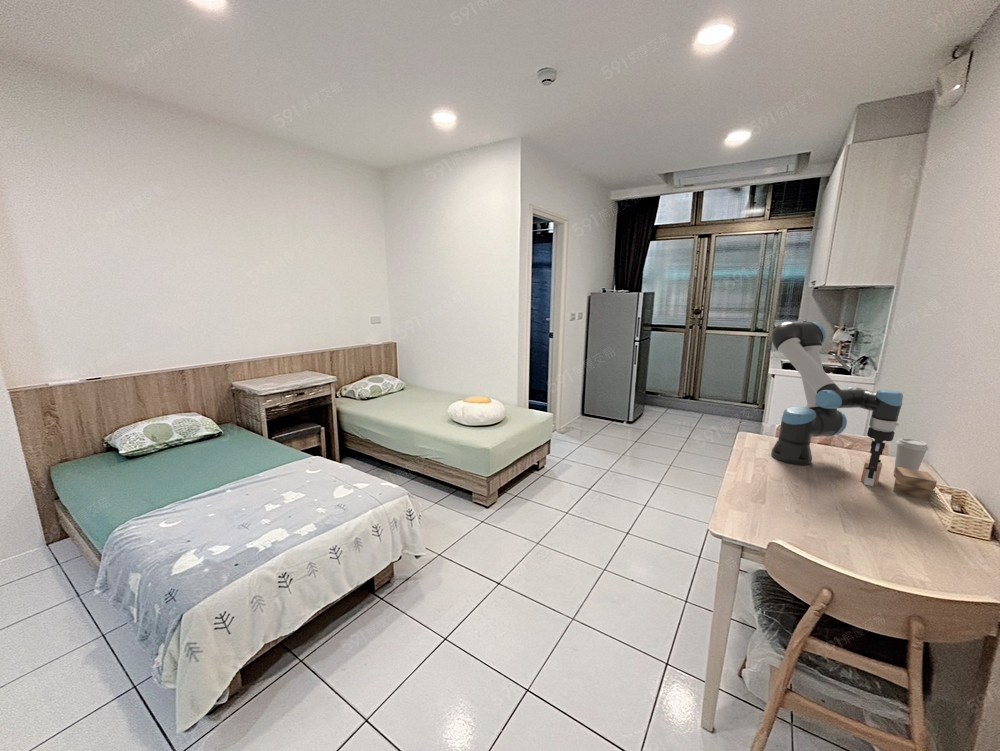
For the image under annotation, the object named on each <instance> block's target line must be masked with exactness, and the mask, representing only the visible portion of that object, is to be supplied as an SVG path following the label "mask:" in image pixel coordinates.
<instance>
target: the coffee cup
mask: <svg viewBox="0 0 1000 751" xmlns="http://www.w3.org/2000/svg"><path fill="white" fill-rule="evenodd" d="M895 444H896V451H895V452H896V453H895V460H894V469H893V473H895V469H896V467H902V468H907V469H913V470H919V469H920V467H921V465H922V462H923V460H924V457H925V455H926V453H927V451H929V446H928V444H927V442H925V441H923V440H920V439H916V438H911V437H910V438H909V437H900V438H899V439H898V440H896V441H895ZM919 471H920V470H919Z"/></svg>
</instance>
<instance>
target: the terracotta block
mask: <svg viewBox="0 0 1000 751" xmlns="http://www.w3.org/2000/svg"><path fill="white" fill-rule="evenodd" d="M869 462H870V459H867V458H866V459H865V461H864V464H863V468H862V473H861V476H860V477H861V478H860V482H863V483H864V481H865V477H866V472H867V469H865V468H866V467H867V468H868V466H869ZM882 467H883V462H878V466H877V472H876V476H875V480H874V484H873V486H878V483H879V479H880V475H881V470H882ZM873 468H874V467H873Z"/></svg>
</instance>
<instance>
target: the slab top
mask: <svg viewBox="0 0 1000 751" xmlns="http://www.w3.org/2000/svg"><path fill="white" fill-rule="evenodd" d="M893 473H894V472H893ZM893 477H894V479H897V481H898V482H899V483H900V484H901V485H904V486H909V487H914V488H919V489H924V490H929V491H931V492H934V491H933V489H934V488H935V489H936V485H937V483H938V481H937V480H936V478H934V477H933V476H932V475H931V474H930V473H929V472H928V471H923V470H913V469H907V468H902V467H896V469H895V473H894V474H893Z"/></svg>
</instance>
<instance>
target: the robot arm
mask: <svg viewBox="0 0 1000 751" xmlns="http://www.w3.org/2000/svg"><path fill="white" fill-rule="evenodd" d="M773 328H774V329H773V330H772V332H771V336H770V338H771V339H770V340H771V343H772V345H773V347H774V348H775V350H776V351H777V353H780V354H783V356H784V357H785V358H786V359H787V360H788V361H789V363H790V364H791V365H792V366H793V368H795V370H796V372H798V373H799V375H800V376H801V381H802V386H803V391H804V394H805V395H804V396H805V399H806V403H807V404H806V406H801V407H800V406H791V407H787V408H786V409H784V410H783V412H782V416H781V423H780V429H779V434H778V435H779V436H778V439H777V440H776V442H775V444H774V445H773V447H772V449H771V451H770V452H771V453H770V455H771V456H772V457H773V458H774V459H776V460H778V461H780V462H783V463H787V464H790V465H797V466H808V465H812V461H813V455H812V450H811V445H810V444H811V442H812V438H814V437H833V436H838V435H841V434H842V433H843V432H844V431H845V430H846V427H847V424H848V421H847V419H848V418H847V417H846V415H845V413H843V412H842V411H840V410H838V409H854V408H856V409H857V408H860V409H864V410H868V411H871V416H870V419H869V420H870V421H869V425H868V426H869V427H868V428H867V429H868V430H867V437H868V438H871V439H874V440H871V442H870V447H871V448H870V451H869V452H870V458H869V460H870V462H869V466H868V468H867V467H866V468H865V469H867V472H866V477H865V481H864V482H863V485H866V486H869V487H874V480H875V476H876V472H877V466H878V462H880V463H882V460H881V459H880V457H881V456H882V454H883V452H884V450H885V446H886V442H892V441H893V440H894V436H895V431H896V428H897V426H898V427H899V425H900V423H898V420H899V416H900V412H901V409H902V406H903V399H904V395H903V393H902V392H900V391H898V390H893V389H888V388H886V389H883V388H882V389H880V388H879V389H878V390H877V391H872V390H867V389H864V388H861V387H854V386H848V387H847V388H845V389H841V388H840V387H839V385H837V384H836V383H835V382H834V381H833V379H832V378H831V377H830V376H829V374H827V373H826V372H825V370H824V367H823V363H822V359H821V358H822V357H821V354H820V351H821V349H823V345H822V344H823V343H824V342H825V341H826V340H825V339H827V338H826V336H827V333H826V329H825V328H824V327H823V326H822V324H820V323H817V322H813V321H784V322H781V323H779V324H778V325H776V326H775V327H773ZM873 467H874V468H873Z"/></svg>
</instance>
